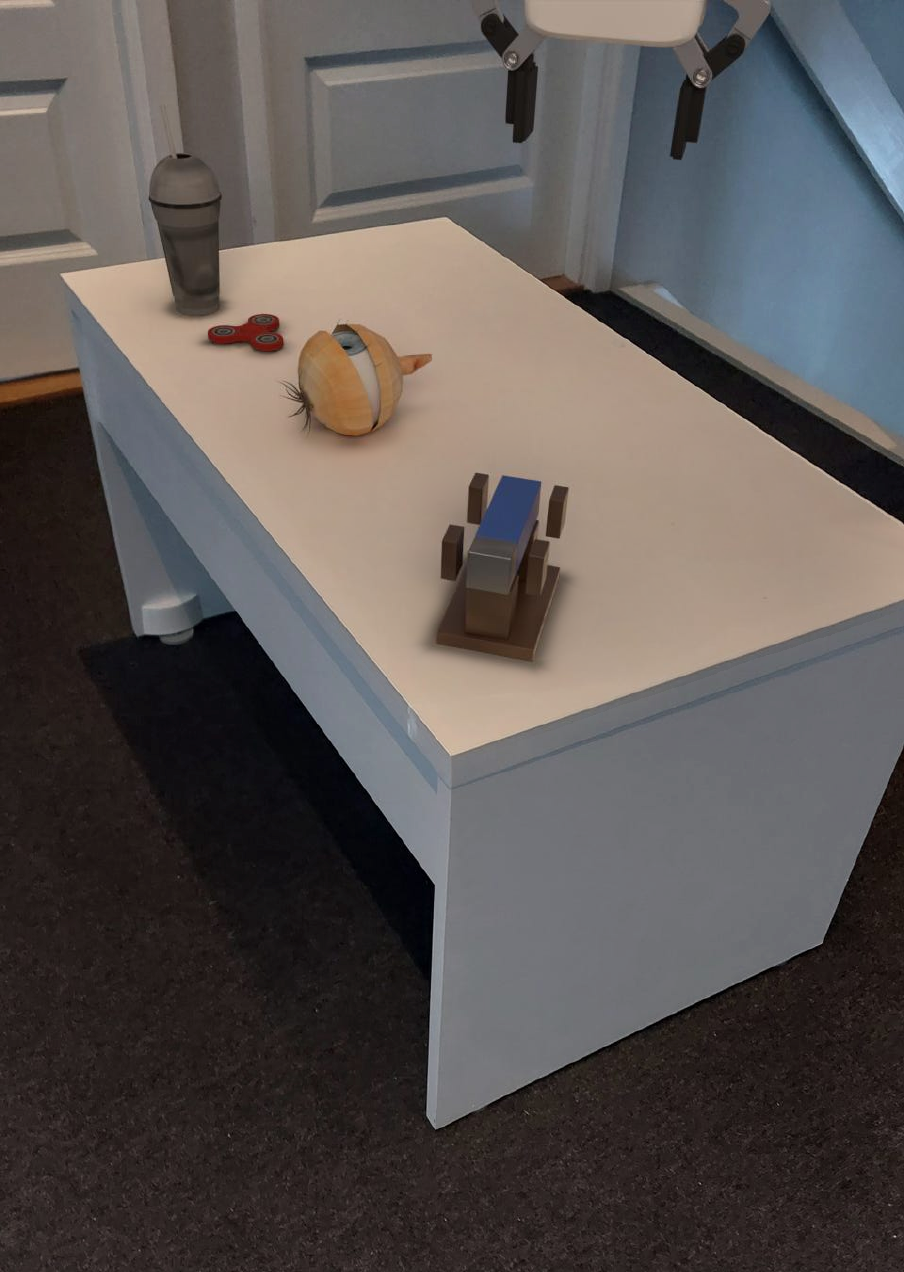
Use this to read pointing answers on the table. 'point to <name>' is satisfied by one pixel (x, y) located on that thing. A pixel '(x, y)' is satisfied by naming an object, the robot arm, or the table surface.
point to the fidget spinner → (250, 333)
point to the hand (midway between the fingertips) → (599, 145)
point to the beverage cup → (188, 227)
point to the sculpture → (351, 379)
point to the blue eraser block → (503, 535)
